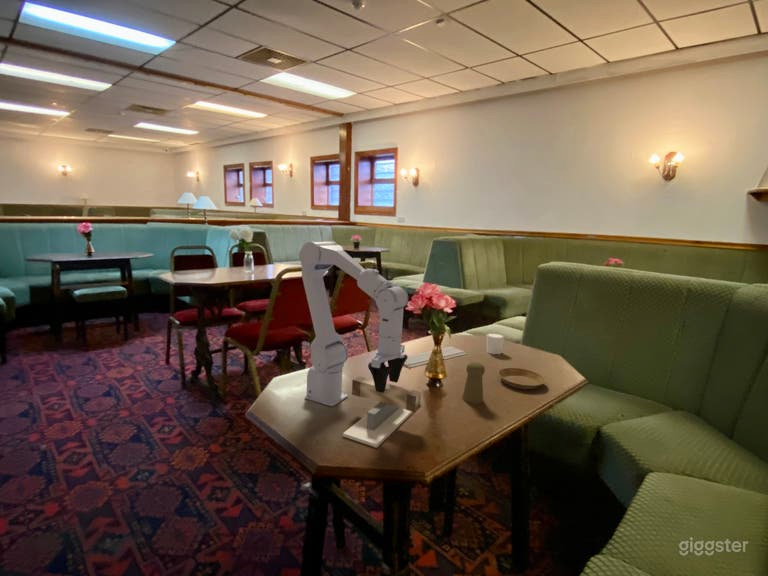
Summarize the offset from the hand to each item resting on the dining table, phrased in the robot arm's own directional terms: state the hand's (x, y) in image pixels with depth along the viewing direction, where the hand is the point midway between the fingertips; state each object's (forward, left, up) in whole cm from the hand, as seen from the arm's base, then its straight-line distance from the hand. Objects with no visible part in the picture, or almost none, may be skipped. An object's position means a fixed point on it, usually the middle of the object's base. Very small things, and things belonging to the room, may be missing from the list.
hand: (387, 386), depth 106 cm
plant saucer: (+26, +47, -10) cm, 55 cm away
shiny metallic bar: (0, 0, -4) cm, 4 cm away
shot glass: (+11, +74, -9) cm, 75 cm away
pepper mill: (+16, +25, -9) cm, 31 cm away
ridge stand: (0, 0, -9) cm, 9 cm away
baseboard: (-7, +52, -10) cm, 54 cm away
